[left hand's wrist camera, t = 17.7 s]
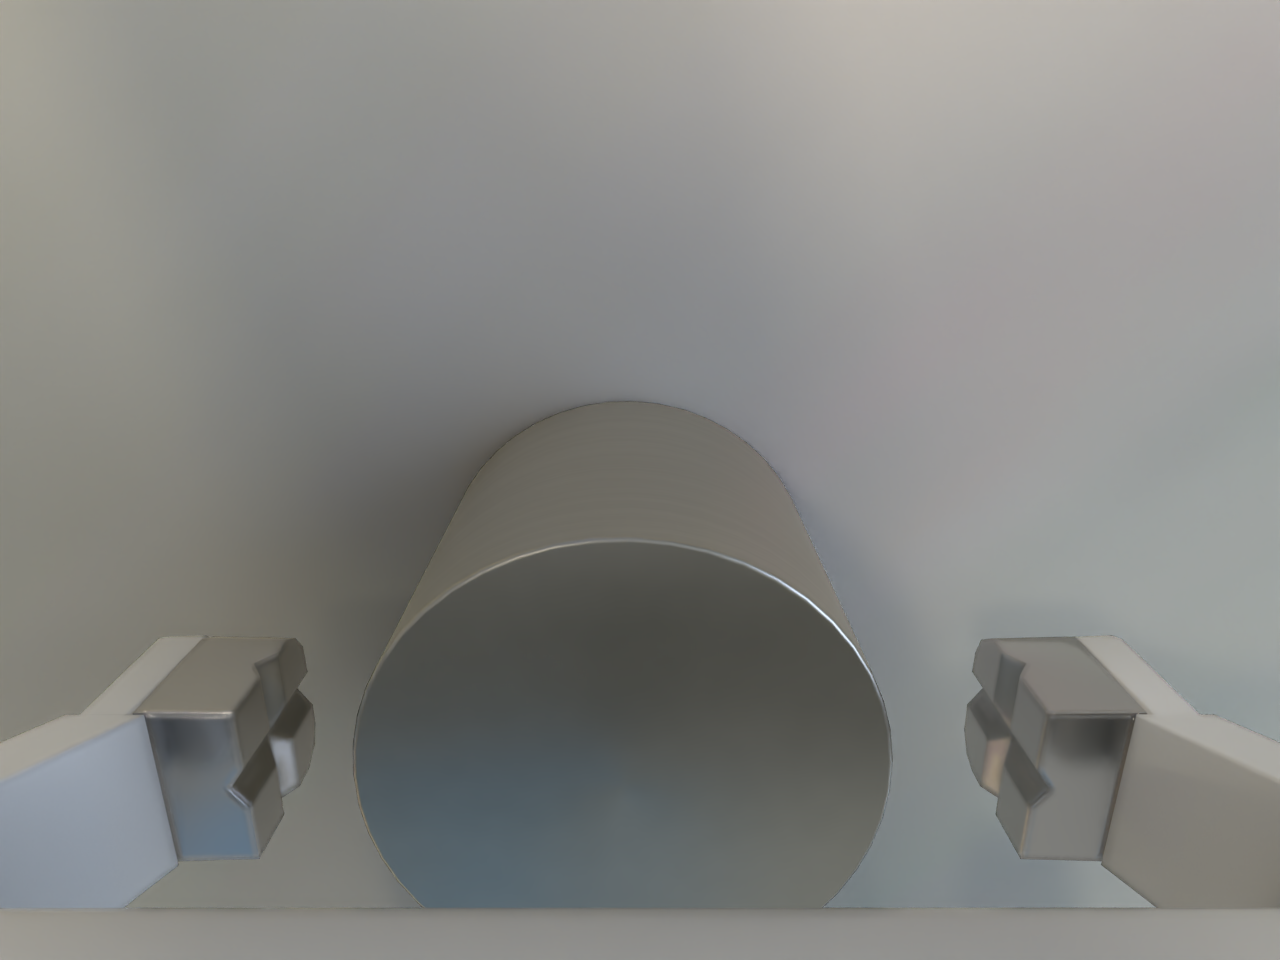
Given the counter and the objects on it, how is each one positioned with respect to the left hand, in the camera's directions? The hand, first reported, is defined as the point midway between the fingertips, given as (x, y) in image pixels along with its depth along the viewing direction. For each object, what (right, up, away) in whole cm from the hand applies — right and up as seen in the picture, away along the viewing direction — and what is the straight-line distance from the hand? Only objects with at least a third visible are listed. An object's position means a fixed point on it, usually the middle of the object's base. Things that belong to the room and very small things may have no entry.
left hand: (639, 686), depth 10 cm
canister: (0, +1, +2) cm, 2 cm away
